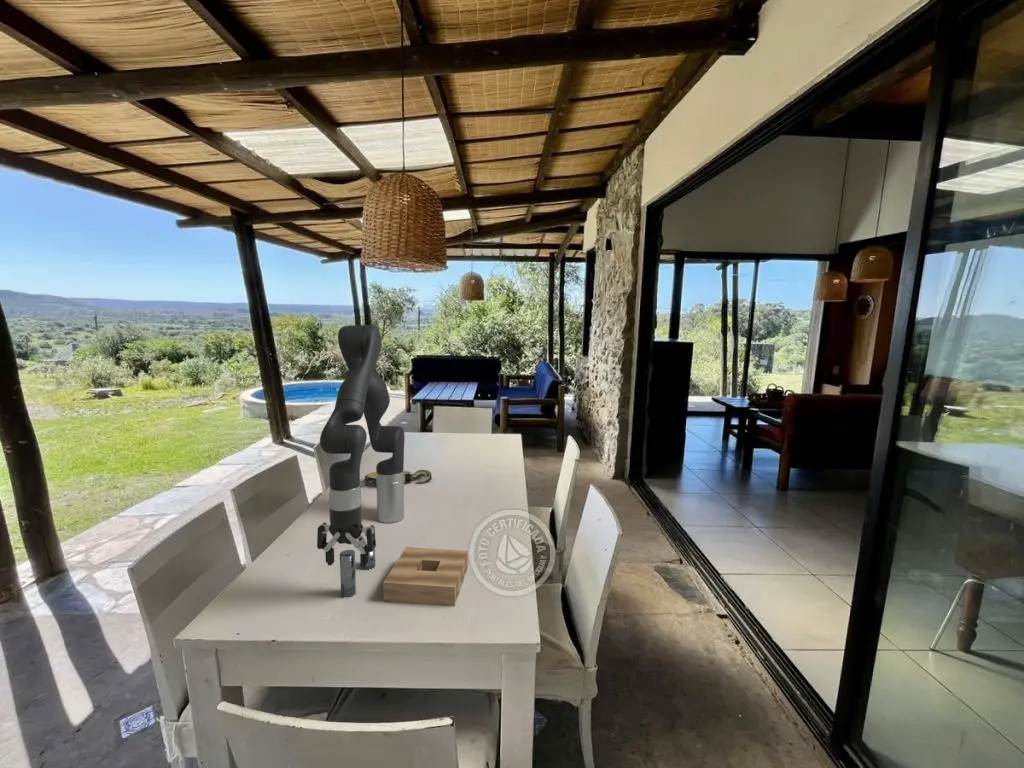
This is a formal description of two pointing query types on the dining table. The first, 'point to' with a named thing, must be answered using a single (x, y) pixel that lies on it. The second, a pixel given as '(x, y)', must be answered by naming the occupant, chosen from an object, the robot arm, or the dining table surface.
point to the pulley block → (407, 477)
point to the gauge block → (427, 576)
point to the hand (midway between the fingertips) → (347, 564)
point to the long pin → (347, 573)
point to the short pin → (370, 561)
